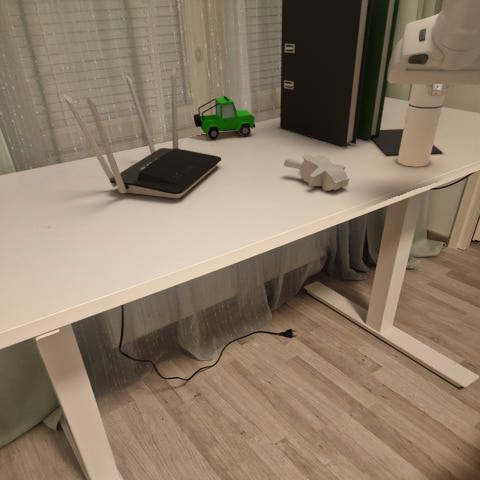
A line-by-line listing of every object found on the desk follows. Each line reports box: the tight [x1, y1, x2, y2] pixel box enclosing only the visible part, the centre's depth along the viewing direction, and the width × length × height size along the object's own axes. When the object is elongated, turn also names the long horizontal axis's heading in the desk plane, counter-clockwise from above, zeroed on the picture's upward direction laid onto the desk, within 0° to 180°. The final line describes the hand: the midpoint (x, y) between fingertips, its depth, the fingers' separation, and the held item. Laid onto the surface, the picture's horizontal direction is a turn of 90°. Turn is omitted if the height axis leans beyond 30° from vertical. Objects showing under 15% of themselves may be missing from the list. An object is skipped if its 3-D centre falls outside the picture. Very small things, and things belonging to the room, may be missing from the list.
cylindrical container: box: [397, 84, 447, 168], centre depth 95 cm, size 7×7×25 cm
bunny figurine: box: [283, 153, 350, 192], centre depth 93 cm, size 10×5×15 cm
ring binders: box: [279, 0, 400, 147], centre depth 114 cm, size 27×15×32 cm, turn 34°
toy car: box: [193, 95, 256, 141], centre depth 123 cm, size 8×17×10 cm, turn 104°
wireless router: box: [62, 67, 222, 199], centre depth 93 cm, size 34×23×20 cm
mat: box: [370, 128, 443, 157], centre depth 115 cm, size 14×22×1 cm, turn 1°
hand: (435, 92), depth 85 cm, fingers closed
